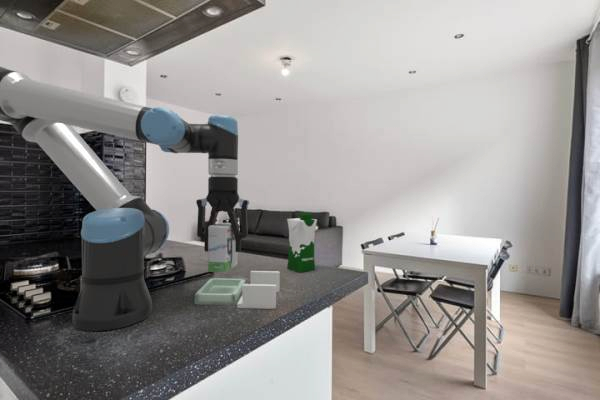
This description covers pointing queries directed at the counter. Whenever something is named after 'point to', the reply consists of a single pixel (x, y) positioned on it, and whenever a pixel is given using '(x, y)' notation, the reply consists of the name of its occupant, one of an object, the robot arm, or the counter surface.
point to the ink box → (220, 247)
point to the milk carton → (301, 243)
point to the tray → (220, 292)
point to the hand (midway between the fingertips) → (222, 263)
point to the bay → (260, 290)
